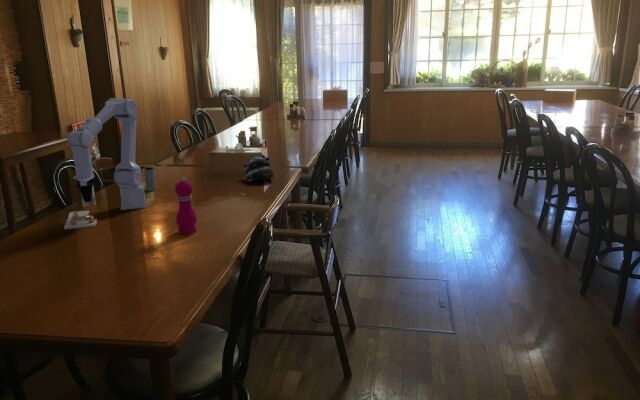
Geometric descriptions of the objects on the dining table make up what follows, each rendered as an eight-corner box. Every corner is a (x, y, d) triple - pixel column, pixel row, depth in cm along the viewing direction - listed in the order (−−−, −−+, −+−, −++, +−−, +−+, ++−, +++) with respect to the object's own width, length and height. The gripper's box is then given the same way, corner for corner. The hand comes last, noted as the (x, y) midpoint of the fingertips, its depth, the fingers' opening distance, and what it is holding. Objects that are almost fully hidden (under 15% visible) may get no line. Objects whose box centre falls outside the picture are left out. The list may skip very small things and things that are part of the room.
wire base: (98, 217, 198) (97, 215, 198) (95, 226, 188) (95, 224, 188) (68, 220, 195) (68, 218, 195) (64, 229, 185) (63, 227, 185)
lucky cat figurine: (240, 184, 244) (236, 156, 247) (251, 187, 255) (246, 161, 258) (269, 176, 240) (264, 148, 243) (278, 180, 252) (274, 153, 254)
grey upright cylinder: (153, 191, 233) (151, 169, 230) (144, 191, 233) (141, 169, 230) (158, 189, 237) (156, 167, 234) (149, 188, 238) (147, 167, 235)
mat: (89, 211, 205) (89, 210, 205) (87, 216, 199) (87, 215, 199) (70, 213, 203) (70, 212, 203) (67, 218, 197) (67, 217, 197)
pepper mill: (201, 229, 184) (197, 175, 178) (190, 236, 178) (186, 180, 172) (184, 227, 187) (179, 174, 181) (173, 233, 180) (167, 179, 174)
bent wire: (96, 215, 197) (95, 209, 197) (93, 222, 190) (93, 216, 189) (74, 218, 195) (73, 211, 194) (71, 224, 188) (70, 218, 187)
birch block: (95, 203, 191) (93, 184, 189) (94, 206, 187) (92, 187, 185) (84, 204, 190) (81, 185, 188) (82, 207, 186) (80, 188, 184)
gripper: (73, 160, 189) (79, 195, 193) (68, 169, 176) (74, 206, 180) (94, 159, 191) (99, 194, 195) (90, 167, 178) (95, 204, 182)
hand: (88, 200), depth 188 cm, fingers closed on birch block, 4 cm apart
